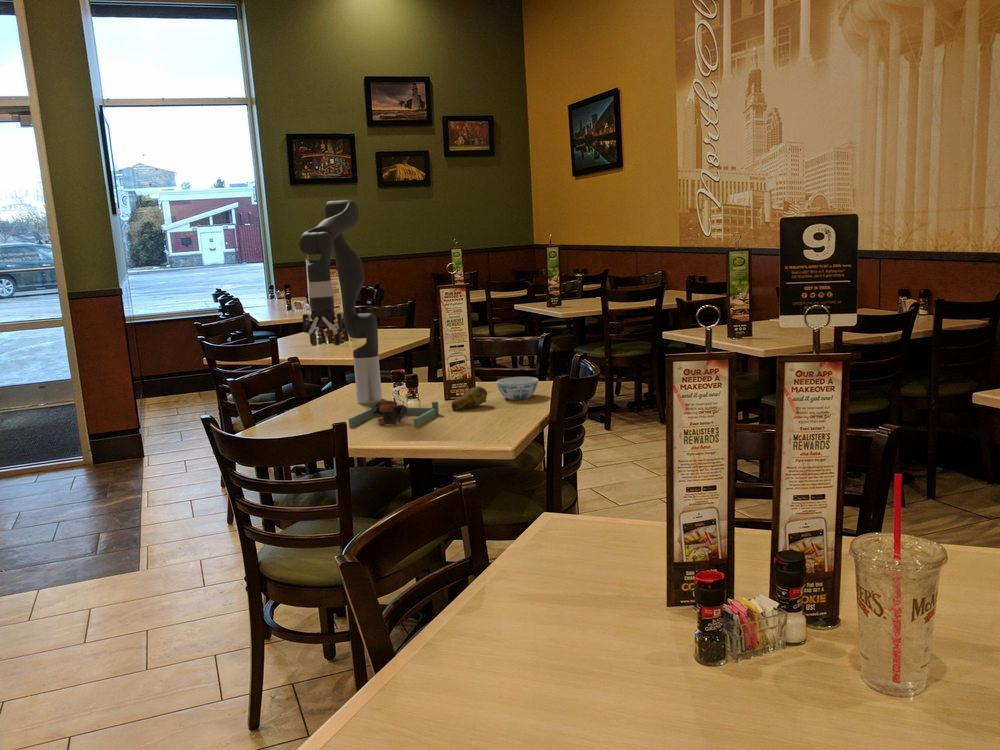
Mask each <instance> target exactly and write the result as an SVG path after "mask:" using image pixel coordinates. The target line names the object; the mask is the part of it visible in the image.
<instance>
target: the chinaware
mask: <svg viewBox="0 0 1000 750" xmlns="http://www.w3.org/2000/svg"><path fill="white" fill-rule="evenodd" d="M538 384H539V379H538V377H533V376H513V377H505V378H501V379H497V380H496V386H497V388H498V391H499V392H500V394H501V395H502V396H503V398H505V399H507V400H511V401H519V400H526V399H529V398H531V397H532V396H533V395H534V394H535V392H536V390H537V388H538Z"/></svg>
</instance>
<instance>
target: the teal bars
mask: <svg viewBox="0 0 1000 750" xmlns="http://www.w3.org/2000/svg"><path fill="white" fill-rule="evenodd" d="M375 404H377V402H376V401H372V402H370V404H369V408H368V409H365V410H364V411H362V412H359V413H358V414H355V415H353V416H351V417H349V418H348V428H353V427H354V428H355V427H356V426H357V425H359V424H360V423H363V422H365V421H366V420H368V419H371V418H372V417H374V416H380V415H379V414H376V413H375V414H373V412H374V409H375ZM406 408H407V413H406V415H405V416H417V417H415V418H413V427H414V428H419V427H420V426H422V425H424V424H425V423H427V422H428V421H430V420H432V419H433V418H435V417H436V416H438V415H439V414H440V413H439V401H433V402H431V407H421V406H420V407H411V406H410V407H407V406H406ZM402 411H403V409H402V410H401V413H402Z"/></svg>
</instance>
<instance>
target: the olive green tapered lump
mask: <svg viewBox="0 0 1000 750" xmlns="http://www.w3.org/2000/svg"><path fill="white" fill-rule="evenodd" d="M487 398H488V392H487V389H486V388H484V387H482V386H473V387H471V388H470V389H468V390H466V392H465V393H463V394H462V395H461V396H459V397H457V398H455V399H454V400H453V401H452V402H451V404H450V405H451V409H452V410H453V411H454V412H457V411H458V412H459V411H464V410H471V409H474V408H476V407H478V406H479V405H482V404H483V403H487Z"/></svg>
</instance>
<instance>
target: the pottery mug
mask: <svg viewBox="0 0 1000 750" xmlns="http://www.w3.org/2000/svg"><path fill="white" fill-rule="evenodd" d="M397 404H398V403H397V402H396V401H393V400H386V401H380V402H376V404H375V409H374V412H373V414H375V413H376V414H379V415H378V416H382V417H380V418H378V419H377V421H378V425H379V426H383V425H384V426H385V425H397V422H401V420H403V418H404V417H405V416H407V415H406V413H407V408H406V407H407V406H406V405H404V404H398V405H397ZM402 409H403V411H402V413H401V410H402Z"/></svg>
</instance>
